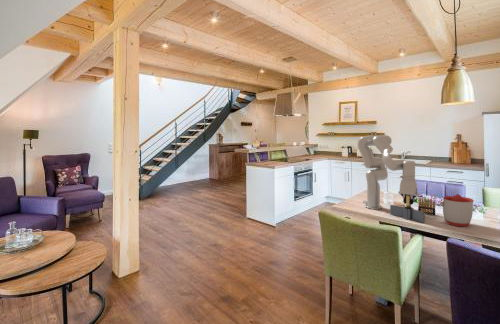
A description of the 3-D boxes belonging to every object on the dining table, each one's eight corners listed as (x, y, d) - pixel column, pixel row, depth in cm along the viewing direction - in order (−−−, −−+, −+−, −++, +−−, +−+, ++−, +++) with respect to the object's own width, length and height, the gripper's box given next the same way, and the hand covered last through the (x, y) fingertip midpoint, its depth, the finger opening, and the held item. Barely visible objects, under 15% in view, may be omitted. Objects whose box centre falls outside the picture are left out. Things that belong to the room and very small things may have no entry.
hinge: (387, 215, 190) (387, 205, 190) (392, 213, 195) (392, 203, 194) (423, 223, 172) (424, 212, 171) (428, 220, 176) (428, 210, 176)
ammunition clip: (417, 212, 195) (418, 197, 193) (418, 212, 196) (418, 196, 195) (434, 215, 187) (435, 199, 186) (435, 214, 188) (435, 198, 187)
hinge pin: (404, 211, 183) (405, 191, 182) (406, 210, 185) (407, 191, 184) (409, 212, 181) (410, 192, 179) (411, 211, 182) (411, 191, 181)
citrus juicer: (439, 218, 181) (440, 190, 179) (472, 222, 170) (473, 193, 168) (438, 224, 169) (438, 194, 167) (473, 229, 158) (474, 198, 156)
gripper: (394, 177, 185) (393, 202, 187) (419, 180, 172) (419, 206, 173) (398, 176, 189) (398, 200, 191) (424, 178, 176) (423, 204, 178)
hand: (408, 203), depth 182 cm, fingers closed on hinge pin, 3 cm apart
